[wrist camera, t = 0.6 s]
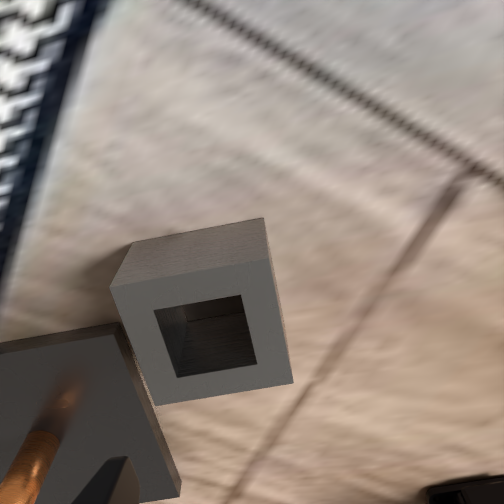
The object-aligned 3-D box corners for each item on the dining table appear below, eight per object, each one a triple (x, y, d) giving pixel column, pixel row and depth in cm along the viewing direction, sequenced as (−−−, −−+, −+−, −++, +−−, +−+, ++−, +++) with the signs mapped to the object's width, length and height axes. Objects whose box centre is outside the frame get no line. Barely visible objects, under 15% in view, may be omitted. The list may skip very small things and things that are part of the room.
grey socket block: (181, 481, 27) (166, 593, 21) (-4, 510, 27) (-65, 625, 22) (118, 322, 22) (78, 415, 16) (-108, 362, 22) (-220, 465, 17)
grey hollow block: (285, 327, 22) (293, 383, 18) (169, 347, 22) (155, 406, 19) (263, 217, 19) (269, 257, 16) (132, 242, 20) (108, 287, 16)
